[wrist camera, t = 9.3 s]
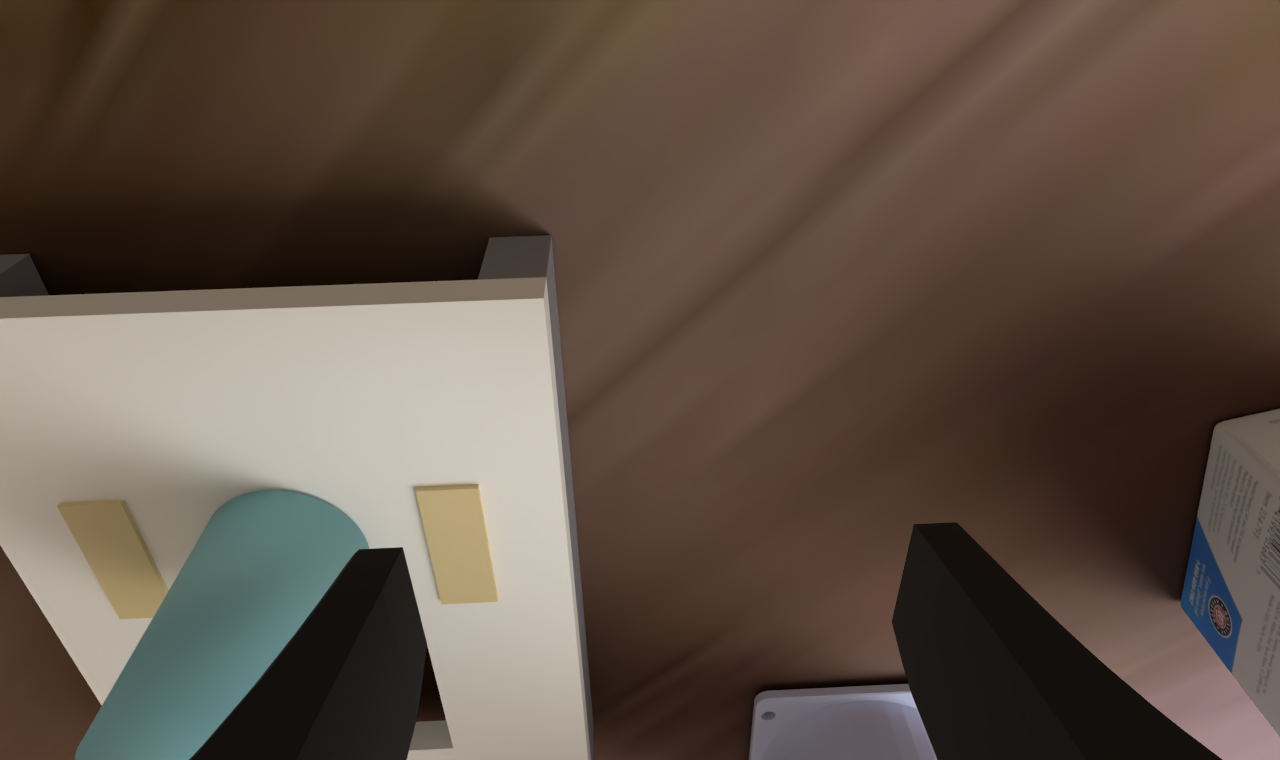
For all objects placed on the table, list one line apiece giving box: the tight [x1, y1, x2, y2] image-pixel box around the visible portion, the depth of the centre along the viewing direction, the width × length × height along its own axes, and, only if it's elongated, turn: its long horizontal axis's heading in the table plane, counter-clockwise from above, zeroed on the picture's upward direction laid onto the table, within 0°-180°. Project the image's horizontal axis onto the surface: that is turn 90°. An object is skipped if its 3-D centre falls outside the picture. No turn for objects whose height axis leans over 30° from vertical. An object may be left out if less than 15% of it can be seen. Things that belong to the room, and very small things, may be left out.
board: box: [0, 235, 594, 760], centre depth 24 cm, size 20×14×4 cm
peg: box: [75, 490, 369, 760], centre depth 19 cm, size 4×4×9 cm
